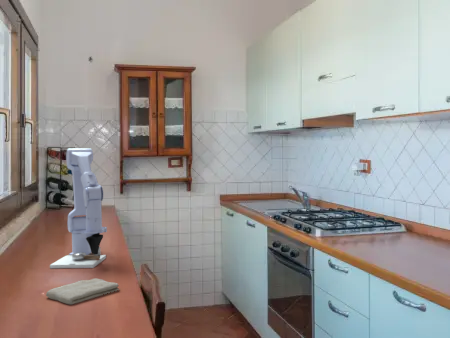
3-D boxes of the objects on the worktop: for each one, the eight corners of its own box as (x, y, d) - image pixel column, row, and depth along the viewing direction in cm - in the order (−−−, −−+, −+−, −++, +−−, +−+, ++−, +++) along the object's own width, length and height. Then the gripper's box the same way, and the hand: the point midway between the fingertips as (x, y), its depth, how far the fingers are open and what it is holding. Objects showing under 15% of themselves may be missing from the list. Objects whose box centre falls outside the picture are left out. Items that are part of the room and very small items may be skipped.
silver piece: (70, 260, 173) (70, 249, 173) (74, 257, 178) (74, 246, 178) (98, 259, 173) (98, 248, 173) (102, 256, 178) (102, 246, 178)
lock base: (66, 258, 184) (66, 255, 184) (106, 257, 183) (105, 254, 183) (49, 268, 168) (49, 264, 168) (93, 267, 167) (93, 264, 167)
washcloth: (121, 291, 139) (121, 281, 139) (70, 307, 125) (69, 296, 125) (96, 285, 147) (96, 275, 147) (45, 299, 132) (45, 289, 132)
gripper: (92, 221, 165) (93, 258, 165) (113, 215, 179) (114, 250, 179) (75, 220, 167) (76, 257, 167) (97, 215, 181) (98, 249, 181)
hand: (94, 254), depth 173 cm, fingers closed
